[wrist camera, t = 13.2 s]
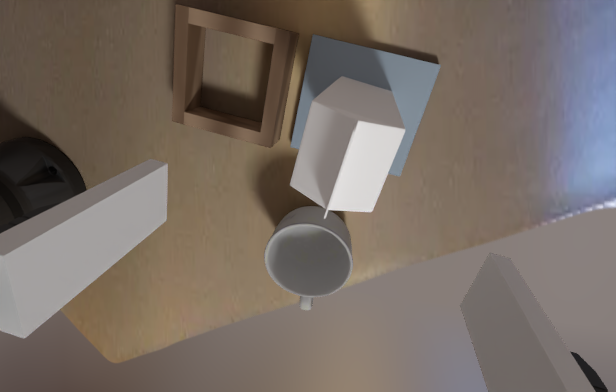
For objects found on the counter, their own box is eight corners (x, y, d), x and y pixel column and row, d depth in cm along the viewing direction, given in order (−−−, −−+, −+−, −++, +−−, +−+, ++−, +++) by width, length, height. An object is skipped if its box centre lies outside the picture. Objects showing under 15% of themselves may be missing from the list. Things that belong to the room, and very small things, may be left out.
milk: (392, 91, 36) (415, 142, 17) (373, 142, 39) (374, 238, 19) (340, 75, 37) (302, 106, 17) (325, 126, 39) (276, 205, 20)
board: (292, 144, 42) (290, 146, 41) (314, 34, 36) (312, 34, 36) (399, 173, 41) (399, 176, 40) (439, 64, 35) (441, 65, 34)
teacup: (289, 186, 45) (272, 213, 38) (366, 210, 44) (364, 242, 37) (270, 265, 51) (253, 301, 44) (337, 287, 50) (331, 327, 43)
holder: (189, 114, 43) (172, 121, 40) (194, 8, 38) (175, 3, 34) (279, 139, 42) (270, 148, 39) (298, 33, 37) (290, 31, 33)
